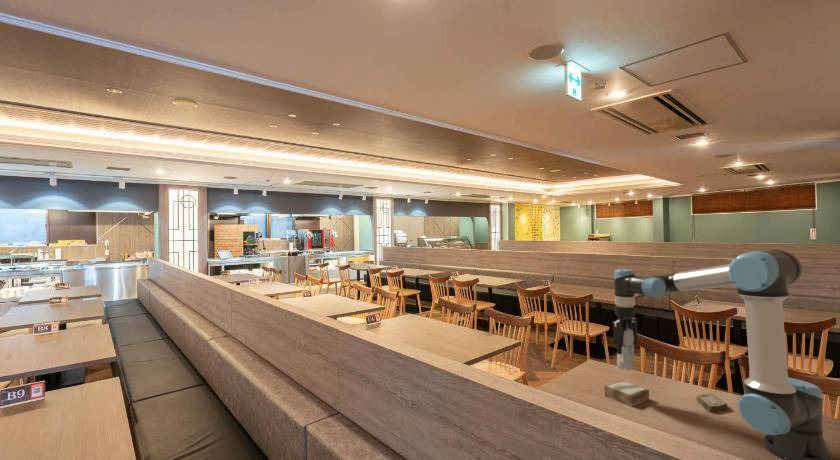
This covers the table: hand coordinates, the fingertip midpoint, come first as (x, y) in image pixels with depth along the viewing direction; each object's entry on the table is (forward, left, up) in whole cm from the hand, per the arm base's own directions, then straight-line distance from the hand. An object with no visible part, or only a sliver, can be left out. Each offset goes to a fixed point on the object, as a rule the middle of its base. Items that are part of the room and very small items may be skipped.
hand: (625, 359), depth 161 cm
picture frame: (0, 0, -16) cm, 16 cm away
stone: (-22, -22, -17) cm, 35 cm away
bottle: (0, 0, -4) cm, 4 cm away
